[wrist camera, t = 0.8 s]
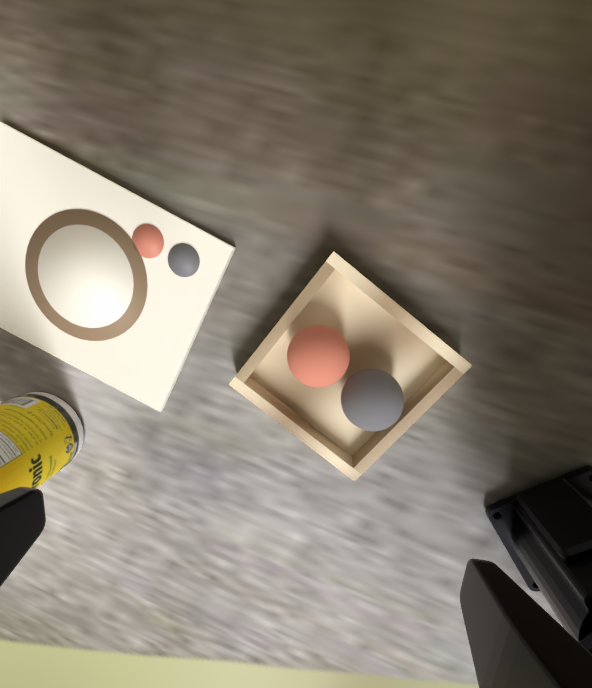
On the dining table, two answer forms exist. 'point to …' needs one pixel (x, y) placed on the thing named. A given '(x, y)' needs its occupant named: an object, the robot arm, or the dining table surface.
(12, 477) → the supplement bottle
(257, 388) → the masu tray
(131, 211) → the card
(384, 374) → the grey ball
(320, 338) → the red ball
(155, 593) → the dining table surface
